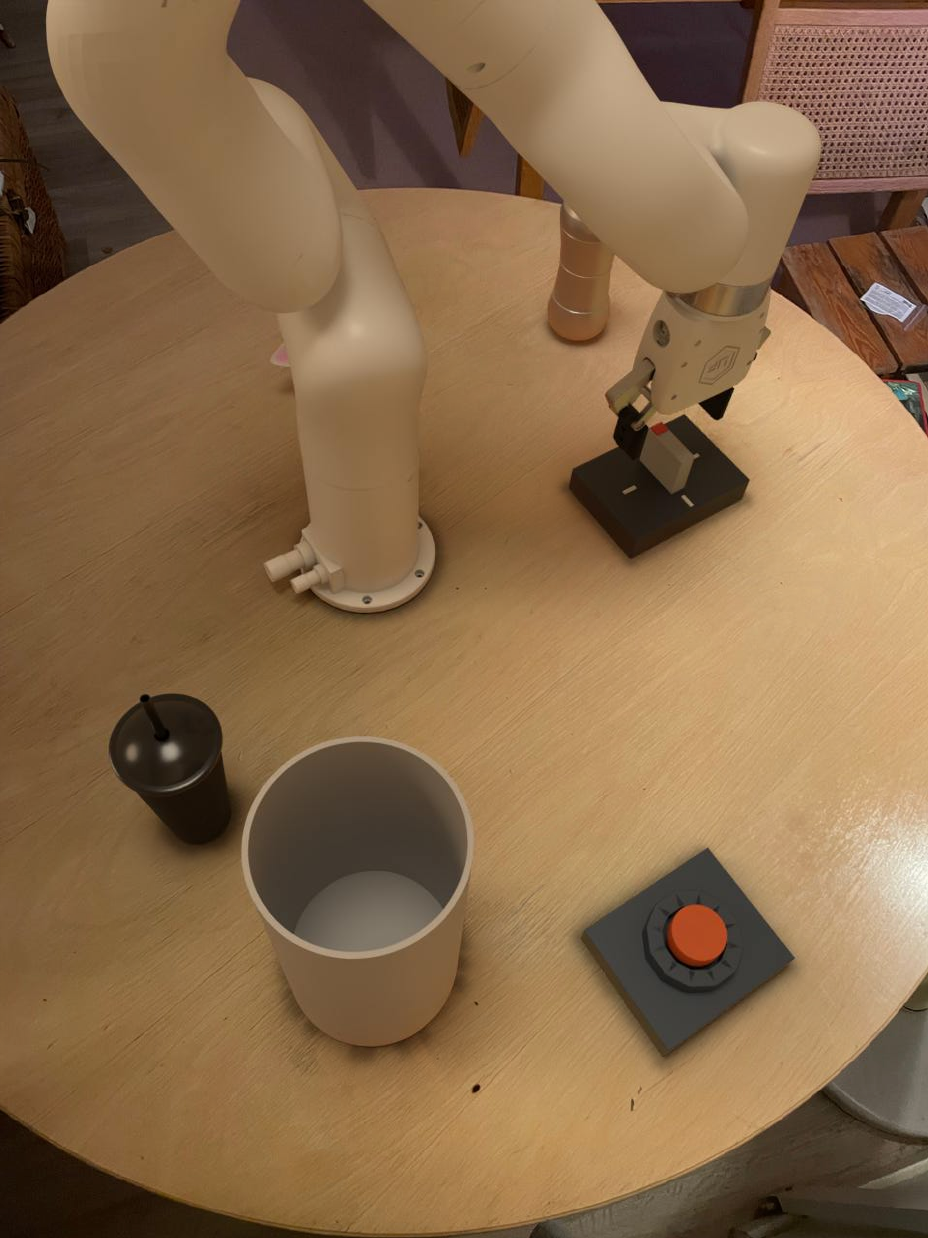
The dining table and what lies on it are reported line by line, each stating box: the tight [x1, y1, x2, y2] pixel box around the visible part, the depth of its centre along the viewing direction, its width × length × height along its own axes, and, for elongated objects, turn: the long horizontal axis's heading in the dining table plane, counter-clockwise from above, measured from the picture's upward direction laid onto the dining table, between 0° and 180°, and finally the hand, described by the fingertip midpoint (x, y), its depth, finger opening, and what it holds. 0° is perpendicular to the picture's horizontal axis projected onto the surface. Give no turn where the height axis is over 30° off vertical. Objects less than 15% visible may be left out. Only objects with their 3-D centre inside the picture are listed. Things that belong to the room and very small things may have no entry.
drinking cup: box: [108, 692, 232, 845], centre depth 74 cm, size 8×8×20 cm
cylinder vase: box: [240, 735, 475, 1047], centre depth 67 cm, size 12×12×25 cm
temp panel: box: [568, 413, 751, 560], centre depth 101 cm, size 14×10×3 cm
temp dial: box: [640, 421, 694, 494], centre depth 97 cm, size 5×2×5 cm, turn 33°
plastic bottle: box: [547, 200, 616, 342], centre depth 106 cm, size 6×7×20 cm
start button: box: [667, 905, 727, 967], centre depth 75 cm, size 4×4×2 cm
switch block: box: [580, 847, 796, 1057], centre depth 77 cm, size 12×10×4 cm
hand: (667, 428), depth 94 cm, fingers open, 9 cm apart
